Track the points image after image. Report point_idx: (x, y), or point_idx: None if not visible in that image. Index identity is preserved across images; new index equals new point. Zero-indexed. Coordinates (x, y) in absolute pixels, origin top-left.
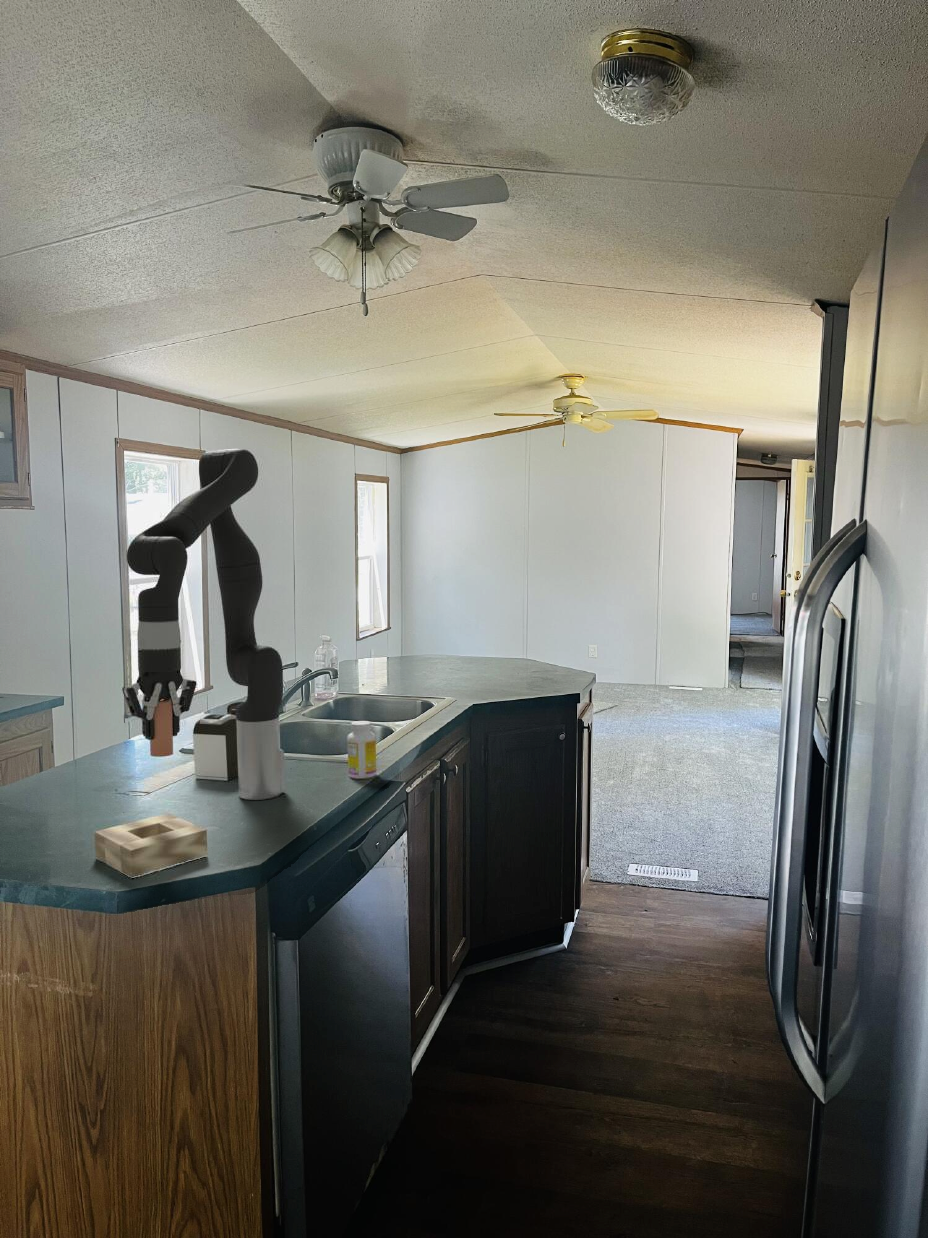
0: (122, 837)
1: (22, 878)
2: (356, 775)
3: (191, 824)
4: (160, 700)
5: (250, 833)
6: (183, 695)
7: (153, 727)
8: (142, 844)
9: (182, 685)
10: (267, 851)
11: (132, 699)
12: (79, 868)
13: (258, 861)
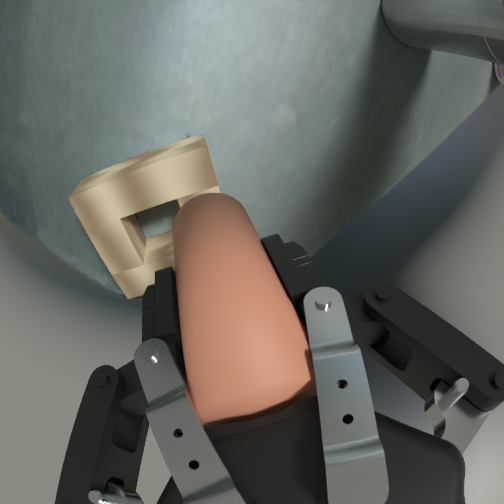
0: (113, 247)
1: (9, 214)
2: (498, 74)
3: None
4: (272, 406)
5: (320, 176)
6: (416, 366)
7: None
8: (143, 286)
9: (438, 421)
10: None
11: (113, 481)
12: (64, 207)
13: None
